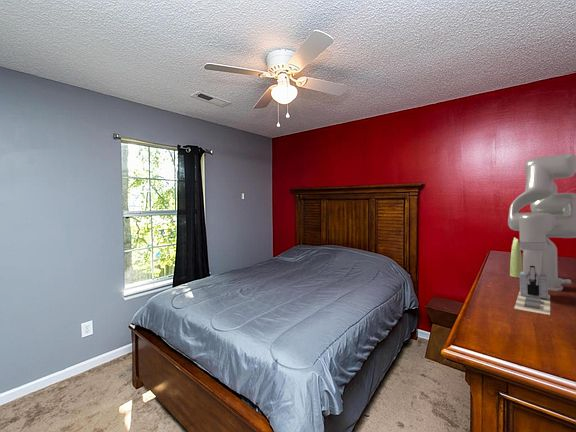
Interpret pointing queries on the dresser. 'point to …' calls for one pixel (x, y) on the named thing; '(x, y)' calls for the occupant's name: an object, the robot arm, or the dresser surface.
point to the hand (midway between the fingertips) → (533, 292)
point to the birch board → (543, 308)
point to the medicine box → (541, 282)
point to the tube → (515, 259)
